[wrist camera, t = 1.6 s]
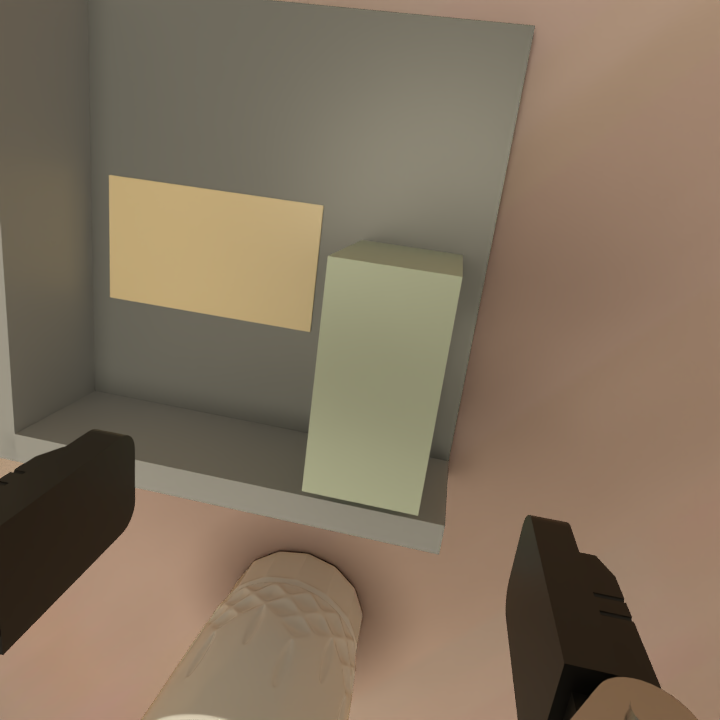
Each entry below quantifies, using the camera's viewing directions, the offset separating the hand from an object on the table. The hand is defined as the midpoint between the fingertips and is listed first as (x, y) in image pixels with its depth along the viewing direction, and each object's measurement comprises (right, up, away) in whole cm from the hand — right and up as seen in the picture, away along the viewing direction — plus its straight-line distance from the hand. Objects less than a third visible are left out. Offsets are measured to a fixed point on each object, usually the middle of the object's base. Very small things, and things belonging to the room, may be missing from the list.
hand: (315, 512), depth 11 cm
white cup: (-2, -10, +18) cm, 21 cm away
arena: (-3, +8, +13) cm, 15 cm away
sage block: (+2, +4, +12) cm, 13 cm away
